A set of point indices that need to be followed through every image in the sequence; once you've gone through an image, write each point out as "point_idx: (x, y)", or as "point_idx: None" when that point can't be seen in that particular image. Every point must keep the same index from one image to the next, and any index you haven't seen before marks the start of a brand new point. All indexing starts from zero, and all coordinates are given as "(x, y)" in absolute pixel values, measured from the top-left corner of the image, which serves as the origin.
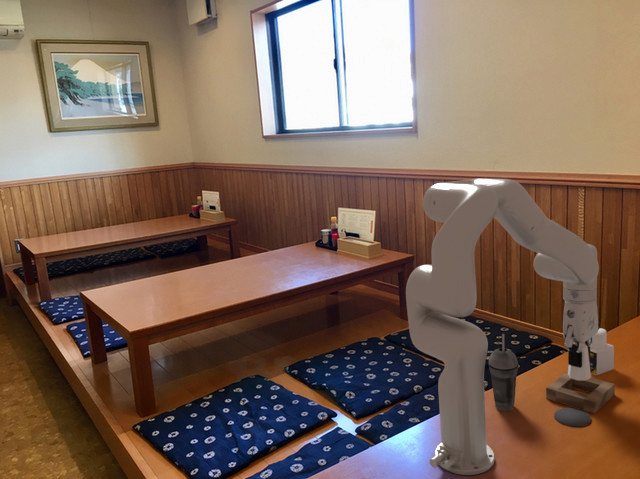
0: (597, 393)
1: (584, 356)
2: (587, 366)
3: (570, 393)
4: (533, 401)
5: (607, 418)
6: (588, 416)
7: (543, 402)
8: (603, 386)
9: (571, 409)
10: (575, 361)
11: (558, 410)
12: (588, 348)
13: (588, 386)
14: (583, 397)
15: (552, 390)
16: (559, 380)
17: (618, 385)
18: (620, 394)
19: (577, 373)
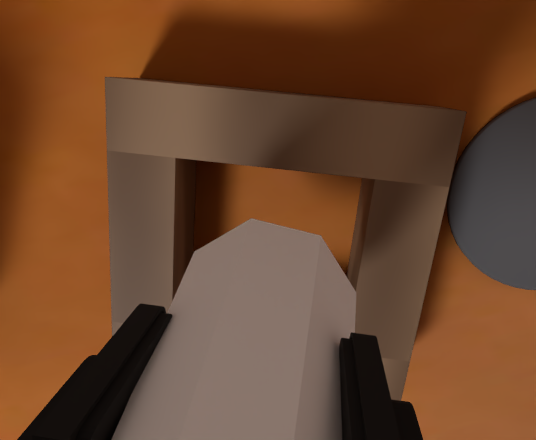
0: (317, 133)
1: (302, 396)
2: (273, 286)
3: (404, 280)
4: (447, 406)
5: (464, 19)
6: (516, 119)
7: (435, 366)
8: (187, 131)
9: (470, 227)
10: (415, 435)
11: (516, 281)
12: (91, 433)
13: (184, 223)
14: (425, 195)
15: (404, 375)
16: None
17: (8, 95)
18: (111, 48)
19: (354, 323)
